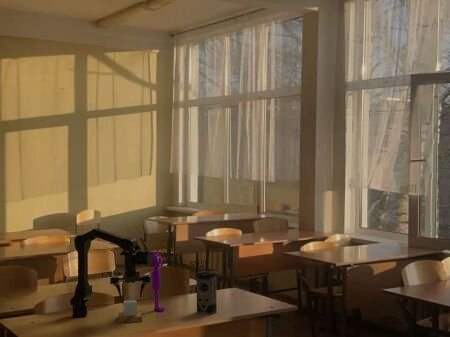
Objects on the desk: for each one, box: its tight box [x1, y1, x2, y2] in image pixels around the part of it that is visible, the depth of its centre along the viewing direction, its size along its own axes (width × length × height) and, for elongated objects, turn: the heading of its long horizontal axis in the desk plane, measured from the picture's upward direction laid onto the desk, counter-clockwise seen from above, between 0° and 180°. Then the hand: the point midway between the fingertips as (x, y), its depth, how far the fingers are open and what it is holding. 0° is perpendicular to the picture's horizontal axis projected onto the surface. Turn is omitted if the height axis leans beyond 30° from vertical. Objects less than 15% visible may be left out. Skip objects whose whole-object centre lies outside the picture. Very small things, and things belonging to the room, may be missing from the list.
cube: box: [123, 299, 138, 316], centre depth 291 cm, size 6×6×6 cm
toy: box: [143, 250, 168, 312], centre depth 308 cm, size 34×8×30 cm, turn 169°
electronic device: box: [195, 270, 218, 315], centre depth 303 cm, size 9×6×20 cm, turn 62°
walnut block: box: [117, 311, 143, 324], centre depth 290 cm, size 11×10×3 cm
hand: (130, 297), depth 290 cm, fingers open, 9 cm apart
